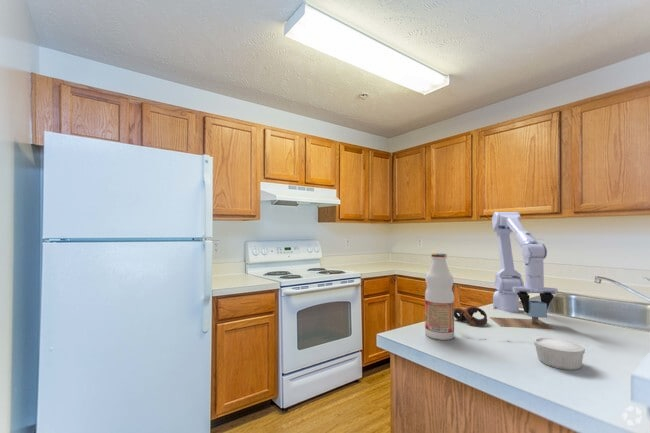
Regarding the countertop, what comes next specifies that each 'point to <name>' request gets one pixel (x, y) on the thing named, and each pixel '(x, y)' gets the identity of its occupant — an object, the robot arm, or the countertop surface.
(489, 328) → the countertop surface
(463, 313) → the brown curled shape
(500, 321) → the stub board
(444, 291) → the fruit juice
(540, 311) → the collar
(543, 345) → the ramekin
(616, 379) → the countertop surface
